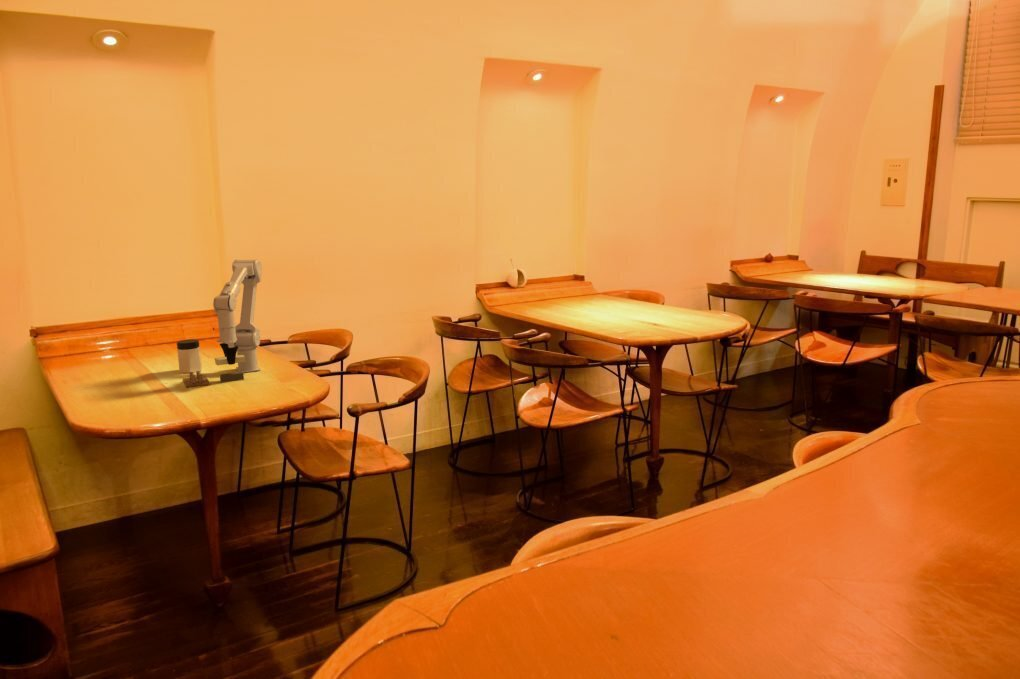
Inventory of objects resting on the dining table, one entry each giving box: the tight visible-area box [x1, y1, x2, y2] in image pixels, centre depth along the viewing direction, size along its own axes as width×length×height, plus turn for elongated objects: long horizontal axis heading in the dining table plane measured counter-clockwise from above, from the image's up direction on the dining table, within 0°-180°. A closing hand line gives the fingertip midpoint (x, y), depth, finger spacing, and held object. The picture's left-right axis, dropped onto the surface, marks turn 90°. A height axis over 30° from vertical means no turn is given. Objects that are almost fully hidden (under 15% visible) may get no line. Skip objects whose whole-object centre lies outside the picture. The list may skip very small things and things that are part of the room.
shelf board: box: [214, 354, 245, 366], centre depth 275 cm, size 10×4×2 cm, turn 119°
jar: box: [176, 338, 203, 374], centre depth 291 cm, size 9×8×12 cm
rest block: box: [219, 371, 245, 383], centre depth 276 cm, size 3×8×2 cm, turn 119°
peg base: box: [182, 371, 211, 389], centre depth 274 cm, size 14×8×3 cm, turn 29°
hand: (230, 362), depth 275 cm, fingers closed on shelf board, 4 cm apart
